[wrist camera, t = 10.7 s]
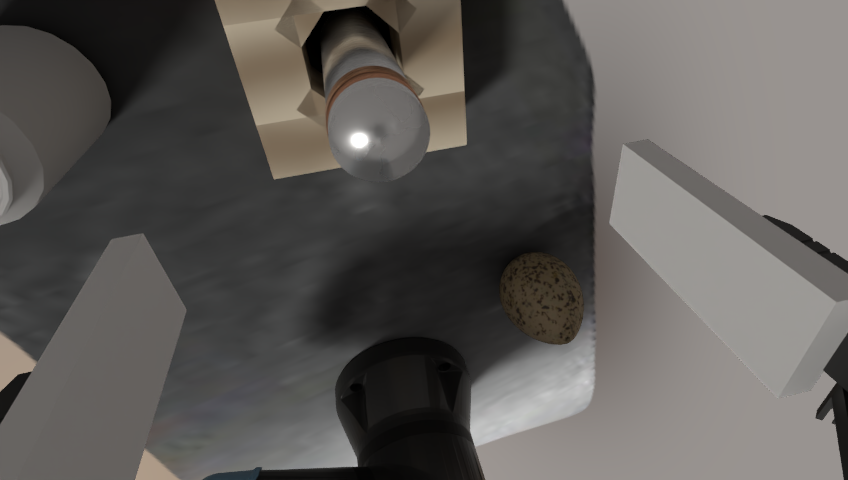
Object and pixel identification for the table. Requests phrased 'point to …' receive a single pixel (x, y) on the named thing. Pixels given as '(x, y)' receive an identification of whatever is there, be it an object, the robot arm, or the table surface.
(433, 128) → the collar
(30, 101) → the can
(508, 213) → the table surface
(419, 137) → the tube
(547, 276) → the decorative egg
